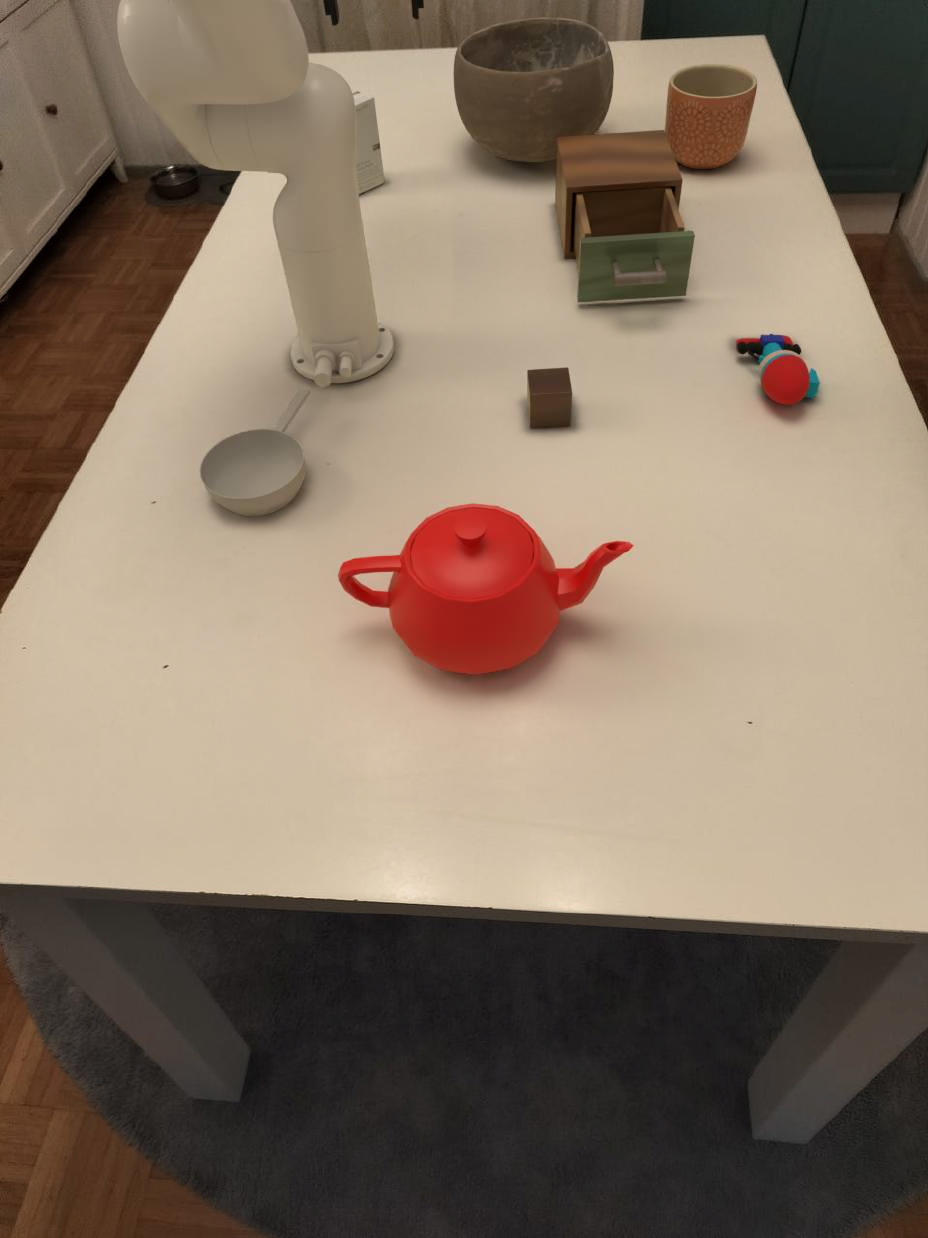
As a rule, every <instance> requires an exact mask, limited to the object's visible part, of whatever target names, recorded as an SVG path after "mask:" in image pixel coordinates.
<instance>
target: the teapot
mask: <svg viewBox="0 0 928 1238" xmlns="http://www.w3.org/2000/svg"><path fill="white" fill-rule="evenodd" d="M633 547H634V544H633V543H631V542H630V541H624V540H615V541H609V542H605V543H602V544H601V545H599V546H598V547H597V548H596V549H594V550H592V551H591V552H590V553H589V554H588V556H587V557H586V559H584V560H583V561H582V562H580V563H579V564H578V565H576V566H574V567H573V568H572V567H569V568H567V567H566V568H565V567H562V568H561V567H560V568H559V567H558V568H556V564H555V560H554V558H553V556H552V555H551V553H550V551H549V550H548V548H547V546H546V545H545V542H544V541H543V539H542V538H541V537H540V536H539V535H538V533H537V532H536V530H535V529H533V528H532V526H531V525H529V523H528V522H526V520H524V518H523V517H521V516H520V515H519V514H517V513H515V512H513V511H510V510H508V509H506V508H504V507H502V506H499V505H493V504H482V503H466V504H460V505H455V506H449V507H446V508H443V509H442V510H439V511H438V512H436V513H433V514H431V515H430V516H427V517H425V519H423V520H422V522H421V523H420V524H418V525H417V526H416V528H415V529H414V530H413V531H412V532H411V533H410V535H409V536H408V538H407V540H406V542H405V543H404V545H403V547H402V549H401V551H400V553H399V554H391V555H373V556H372V555H371V556H363V557H354V558H351V559H349V560H345V561H343V562H342V563H341V565H340V567H339V569H338V570H339V571H338V574H337V578H338V582H339V583H340V585H341V587H342V589H343V591H344V592H346V593H347V594H348V595H350V596H351V598H353V599H355V601H358V602H361V603H363V604H364V605H367V606H369V607H371V608H372V607H373V608H384V609H389V611H388V612H389V618H390V622H391V627H392V629H393V630H394V631H395V633H396V634H397V636H398V638H400V640H401V641H402V642H403V644H404V645H405V646H406V647H407V649H408V650H409V651H410V652H411V654H412V655H413V656H414V657H416V658H417V659H420V660H421V661H423V662H425V663H427V664H429V665H430V666H432V667H435V668H436V669H438V670H440V671H446V672H452V673H460V674H465V675H475V676H478V675H483V674H487V673H493V672H499V671H502V670H503V671H504V670H510V669H512V668H514V667H516V666H518V665H519V664H521V663H523V662H524V661H526V660H528V659H529V658H531V657H533V656H535V655H536V654H538V653H539V652H540V651H541V650H542V648H543V646H544V645H545V644H546V642H547V640H549V638H550V637H551V635H552V634H553V632H554V631H555V630H556V628H557V627H558V625H559V623H560V612H561V611H564V610H567V609H570V608H573V607H575V606H578V605H581V604H583V602H584V601H585V600H586V598H587V597H588V596H589V594H590V593H591V592H592V591H593V589H594V588H595V587H596V584H597V582H598V580H599V578H600V577H601V574H602V572H603V570H604V568H605V567H607V566H608V565H610V564H611V563H613V562H614V561H615V560H616V559H617V558H619V557H621V556H623V554H625V553H628V552H630V551H631V550H632V548H633ZM373 573H374V574H375V573H392V575H391V578H390V581H389V584H388V589H387V590H386V591H385V590H374V589H372V588H370V587H368V586H367V585H365V584H363V583H361V581H359V580H358V579H357V578H356V577H355V576H358V575H362V574H363V575H364V574H373Z"/></svg>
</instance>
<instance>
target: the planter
mask: <svg viewBox="0 0 928 1238" xmlns="http://www.w3.org/2000/svg"><path fill="white" fill-rule="evenodd" d="M757 89H758V78H757V77H756V76H755V74H753V73H752V72H751V71H749V70H747V69H745V68H742V67H739V66H735V65H730V64H724V63H723V64H722V63H705V64H695V65H691V66H687V67H684V68H681V69H679V70H677V71H675V72H674V73H673V74H672V75H671V76H670V78H669V81H668V87H667V95H666V106H665V107H666V108H665V109H666V110H665V123H664V131H665V134H666V137H667V139H668V142H669V145H670V147H671V150H672V152H673V155H674V158H675V160H676V163H677V164H680V165H681V166H683V167H686V168H689V169H693V170H712V169H717V168H720V167H722V166H724V165H726V164H727V163H729V162H731V161H732V160H733V159H734V158H735V157H737V156H738V154H739V153H740V152H741V151H742V149H743V147H744V145H745V142H746V140H747V139H746V138H747V135H748V132H749V126H750V122H751V117H752V114H753V113H752V112H753V108H754V104H755V99H756V95H757Z"/></svg>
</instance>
